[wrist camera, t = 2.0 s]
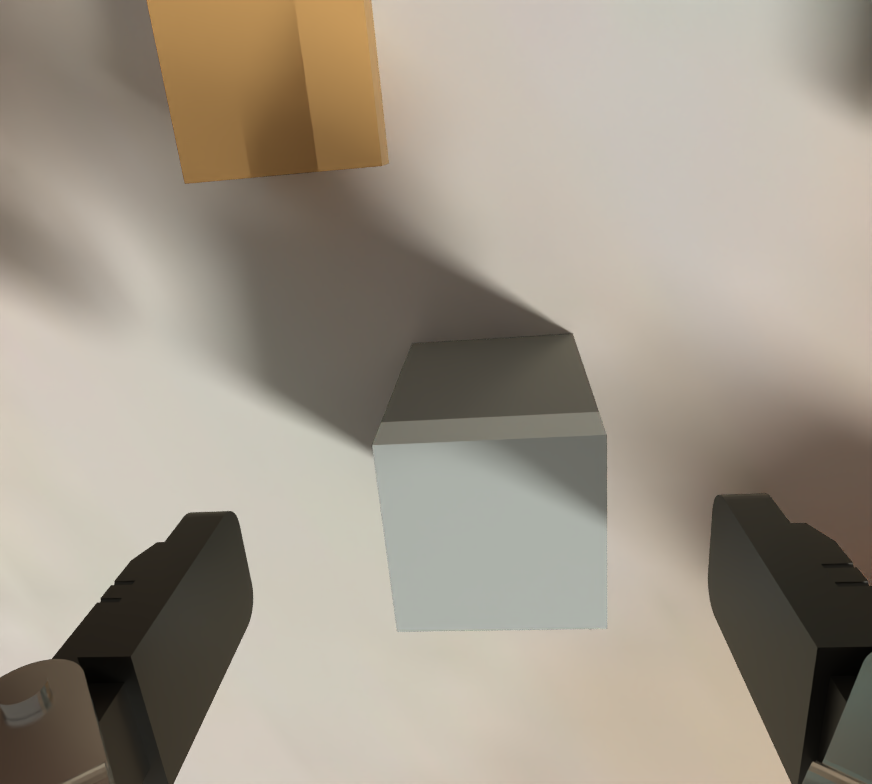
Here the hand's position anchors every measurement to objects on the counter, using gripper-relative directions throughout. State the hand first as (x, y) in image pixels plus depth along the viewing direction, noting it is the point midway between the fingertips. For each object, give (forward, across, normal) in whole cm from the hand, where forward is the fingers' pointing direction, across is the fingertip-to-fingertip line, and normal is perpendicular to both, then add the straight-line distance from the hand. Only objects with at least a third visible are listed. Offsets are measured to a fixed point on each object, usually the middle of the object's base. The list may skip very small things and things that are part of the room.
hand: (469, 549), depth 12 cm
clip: (+7, +4, -8) cm, 11 cm away
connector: (+7, 0, 0) cm, 7 cm away
